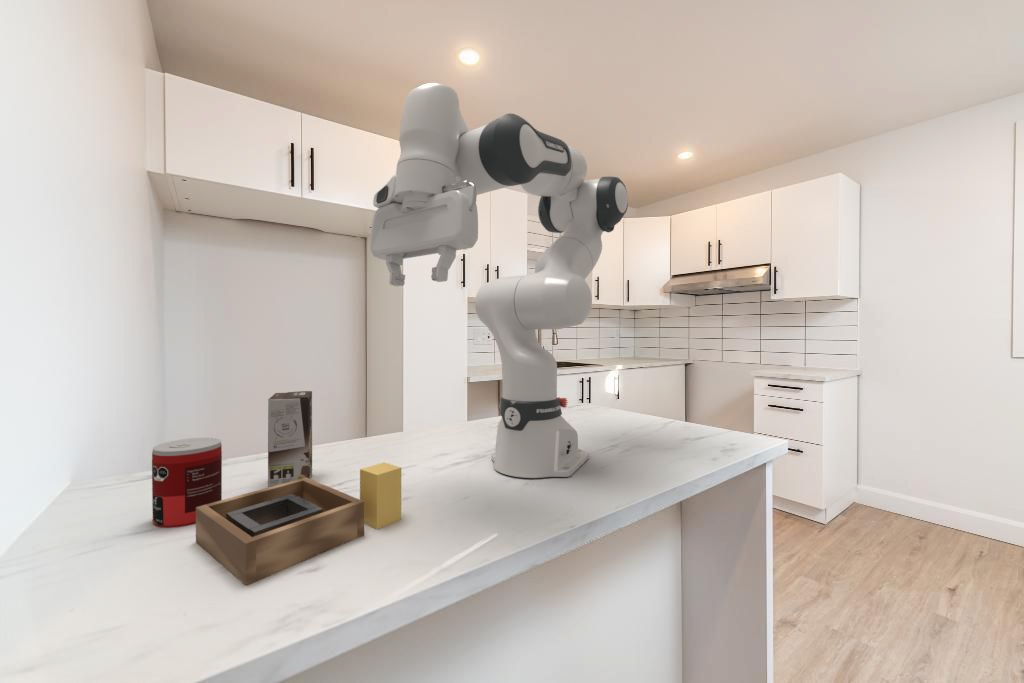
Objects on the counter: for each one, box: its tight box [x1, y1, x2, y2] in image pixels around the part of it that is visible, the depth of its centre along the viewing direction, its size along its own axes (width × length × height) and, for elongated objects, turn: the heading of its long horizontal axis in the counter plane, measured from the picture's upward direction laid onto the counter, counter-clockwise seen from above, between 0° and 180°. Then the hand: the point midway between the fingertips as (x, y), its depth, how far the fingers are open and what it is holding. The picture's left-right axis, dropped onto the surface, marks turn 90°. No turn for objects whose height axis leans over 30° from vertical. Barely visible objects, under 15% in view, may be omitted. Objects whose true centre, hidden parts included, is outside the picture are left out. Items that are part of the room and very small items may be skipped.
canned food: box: [151, 437, 223, 529], centre depth 60 cm, size 8×8×11 cm
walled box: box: [195, 477, 365, 587], centre depth 54 cm, size 14×15×5 cm
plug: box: [359, 462, 402, 530], centre depth 59 cm, size 4×4×8 cm
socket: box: [226, 494, 323, 537], centre depth 53 cm, size 8×8×4 cm
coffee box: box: [267, 390, 313, 488], centre depth 75 cm, size 9×6×16 cm
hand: (417, 283), depth 62 cm, fingers open, 8 cm apart
